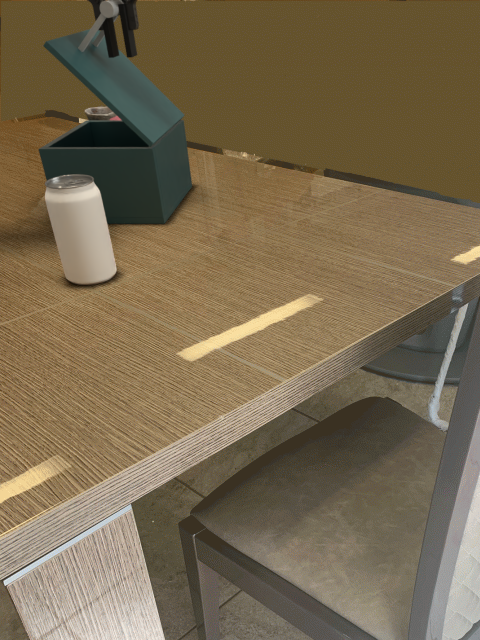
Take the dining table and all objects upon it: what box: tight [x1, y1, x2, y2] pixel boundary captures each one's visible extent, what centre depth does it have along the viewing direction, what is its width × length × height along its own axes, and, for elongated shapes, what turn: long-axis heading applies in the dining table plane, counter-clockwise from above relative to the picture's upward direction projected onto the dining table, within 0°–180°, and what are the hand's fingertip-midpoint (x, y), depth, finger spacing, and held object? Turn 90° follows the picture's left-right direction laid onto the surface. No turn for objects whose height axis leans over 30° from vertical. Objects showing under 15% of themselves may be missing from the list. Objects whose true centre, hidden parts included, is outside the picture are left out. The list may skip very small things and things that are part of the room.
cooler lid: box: [43, 0, 185, 147], centre depth 95 cm, size 18×20×9 cm
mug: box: [84, 106, 117, 120], centre depth 140 cm, size 10×12×10 cm
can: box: [44, 174, 118, 286], centre depth 80 cm, size 6×6×12 cm
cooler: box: [38, 119, 193, 225], centre depth 104 cm, size 17×20×11 cm
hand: (123, 56), depth 95 cm, fingers closed on cooler lid, 2 cm apart
